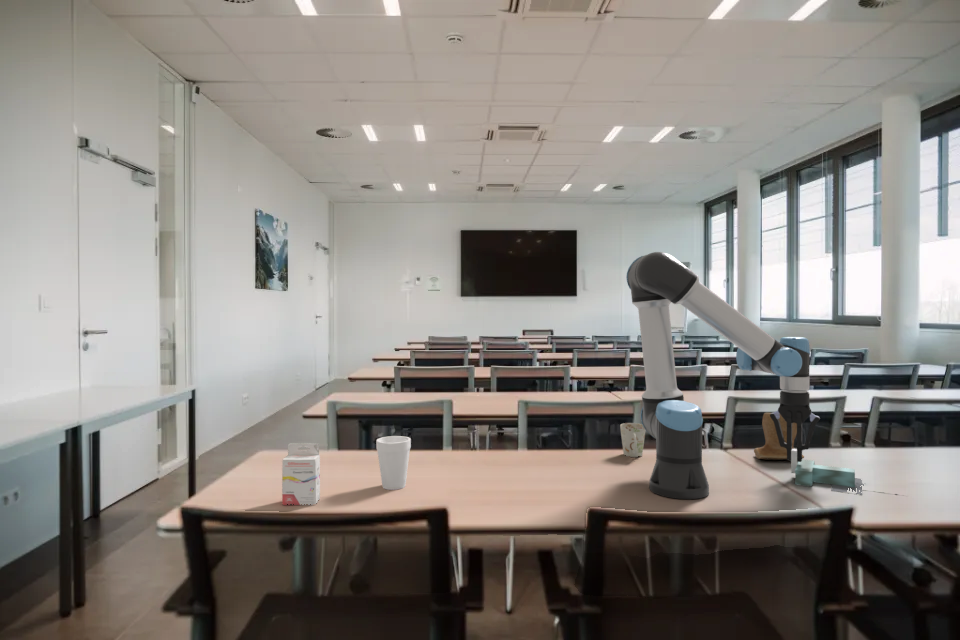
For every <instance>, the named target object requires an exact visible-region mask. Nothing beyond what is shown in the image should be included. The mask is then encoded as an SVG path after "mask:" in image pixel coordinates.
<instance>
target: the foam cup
mask: <svg viewBox="0 0 960 640" xmlns="http://www.w3.org/2000/svg"><path fill="white" fill-rule="evenodd" d="M375 441H376V442H375V443H376V444H375V445H376V451H377V456H378V457H377V458H378V459H377V460H378V464H379V473H380V478H381V486H382V488H383V489H384V490H392V491H393V490H394V491H395V490H401V489H404V488H405V487H406V484H407V476H408V469H409V468H408V467H409V461H410V460H409V459H410V452H411V451H410V450H411V447H412V444H411V443H412V439H411V437H409V436H403V435H402V436H401V435H391V436H383V437H379V438H377V439H376V440H375Z"/></svg>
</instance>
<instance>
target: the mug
mask: <svg viewBox="0 0 960 640" xmlns="http://www.w3.org/2000/svg"><path fill="white" fill-rule="evenodd" d="M619 427H620V429H619V430H620V436H621V437H620V438H621V444H622V452H623V455H624V456H625V455H626V457H628V456H630V458H639V457H638V456H641V457H642V456H643V452H644V444H645V438H646V432H647V431H646V430H645V428H644V427H643V425H642V423H638V422H637V423H636V422H625V423H624V422H623V423H621V424H620V425H619Z"/></svg>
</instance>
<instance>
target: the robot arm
mask: <svg viewBox="0 0 960 640" xmlns="http://www.w3.org/2000/svg"><path fill="white" fill-rule="evenodd" d="M626 284H627V286H628V288H629V289H630V292H631V294H630V295H631V302H632V305H633V306H635V307H636V308H637V310H638V311H637V312H638V319H639V320H638V321H639V327H640V329H639V330H640V338H641V339H640V340H641V346H642V347H641V348H642V358H643V359H642V360H643V369H644V377H645V387H646V389H645V391H644V392H643V393H642V395H641V400H642V401H641V402H642V407H641V410H640V421H641V424H642V425H643V427H644V428H645V430H646V431H645V432H647V434H648V435H650V436H651V437H652V438H654V439H656V440H655V441H656V442H655V443H656V444H655V451H656V452H655V453H656V454H655V455H656V457H655V458H656V459H655V463H654V467H653V469H652V472H651V475H650V478H649V490H650V491H651V492H652V493H654V494H655V495H656V494H657V495H658V496H661V497H666V498H670V499H678V500H697V499H703V498H706V497H707V496H709V494H710V484H709V481H708V478H707V475H706V473H705V469H704V467H703V466H704V465H703V422H704V420H703V415H702V414H703V412H702V409H701V408H700V406H699V405H697V404H695V403H694V402H688V401H686V400H685V398H684V392H683V391H682V390H680V389H679V388H678V385H677V374H676V363H675V354H674V346H673V345H674V344H673V343H674V342H673V333H672V326H671V325H672V324H671V315H670V304H671V303H672V304H674V305H681V306H682V307H684V308H685V309H686V310H688V311H689V312H690V313H692V314H693V315H694V316H696V317H697V318H698V319H700V321H703V323H705V324H706V325H708V326H709V327H710V328H712V329H713V330H715V331H716V332H717V333H718V334H720V335H721V336H723V338H724V339H727V340H728V341H729V342H730V343H731V344H733V345H734V346H736V347H737V350H736V356H735V357H736V364H737V367H738V368H739V369H740V370H742V371H749V372H753V371H758V372H762V373H768V374H772V375H775V376H777V377H779V388H780V389H781V390H780V391H779V406H778V409H777V410H775V411H774V412H770V413H771V414H770V417H771V419H772V420H773V421H774V425H775V429H776V432H777V436H778V440H779V444H780V446H781V447H784V448H786V449H787V461H789V462H790V470H791V471H790V473H791V474H795V469H796V467H797V464H798V462H801V461H802V455H803V451H805V450H809V448H810V445H811V442H812V439H813V435H814V432H815V427H816V426H817V424H818V423H819V422H820V419H821V418H820V416H819V415H815V414H814V413H812V412H813V411H812V409H811V408H810V407H811V406H810V392H809V391H810V382H811V381H810V380H811V379H810V377H811V376H810V358H811V357H810V355H811V352H810V351H811V350H810V349H811V347H810V341H809V339H808V338H807V337H802V336H783V337H780V339H779V341H778V340H776V339H775V338H774V337H772V336H771V335H770V334H768V333H767V332H766V331H765V330H763V329H762V328H761V327H759V326H758V325H757V324H756V323H754V322H753V321H752V320H750V319H749V318H747V317H746V316H745V315H743V314H742V312H740V311H738V310H737V309H736V308H734V307H733V306H732V305H731V304H729V303H728V302H727V301H725V300H723V298H721V297H720V296H718V295H717V294H716V293H715V292H713V291H712V290H710V289H709V288H708V287H707V286H706V285H705V284H703V283H702V282H701V281H700V279H699V275H698V274H696V273H695V272H693V271H692V270H691V269H690V268H688V267H687V265H685V264H684V263H682V262H681V261H679V260H678V259H677V258H676V257H674V256H673V255H671V254H670V253H666V252H663V251H655V252H654V251H653V252H651V253H648V254H645V255H641V256H639V257H637V258H636V259H635V260H633V261H632V263H631V264H630V265H629V267H628V269H627V271H626ZM779 414H780V415H781V416H782V417H783V418H784V420H785V421H786V422H787V443H785V440H784V437H783V433H782V429H781V425H780V421H779V417H780V416H779ZM807 419H809V421H810V425H809V429H808V432H807V434H806V435H807V436H806V438H805V442H804V444H803V423H804V422H805V421H807ZM792 423H797V434H796V448H794V449H792Z"/></svg>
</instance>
